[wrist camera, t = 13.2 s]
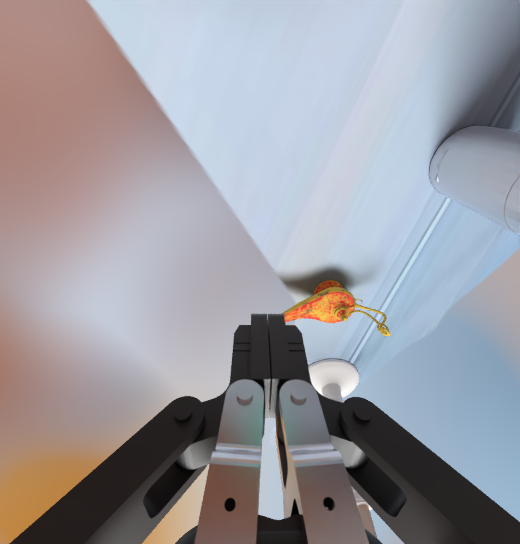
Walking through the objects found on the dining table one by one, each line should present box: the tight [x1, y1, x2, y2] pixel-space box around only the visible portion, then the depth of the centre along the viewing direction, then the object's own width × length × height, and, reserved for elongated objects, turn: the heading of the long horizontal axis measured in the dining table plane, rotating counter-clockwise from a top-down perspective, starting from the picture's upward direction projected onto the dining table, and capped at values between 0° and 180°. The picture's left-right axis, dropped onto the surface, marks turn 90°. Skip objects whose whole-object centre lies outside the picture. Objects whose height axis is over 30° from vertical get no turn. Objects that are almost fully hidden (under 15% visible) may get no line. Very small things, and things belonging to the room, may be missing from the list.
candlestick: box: [308, 359, 377, 538], centre depth 50 cm, size 13×13×30 cm
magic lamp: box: [282, 280, 391, 336], centre depth 46 cm, size 7×18×11 cm, turn 93°
